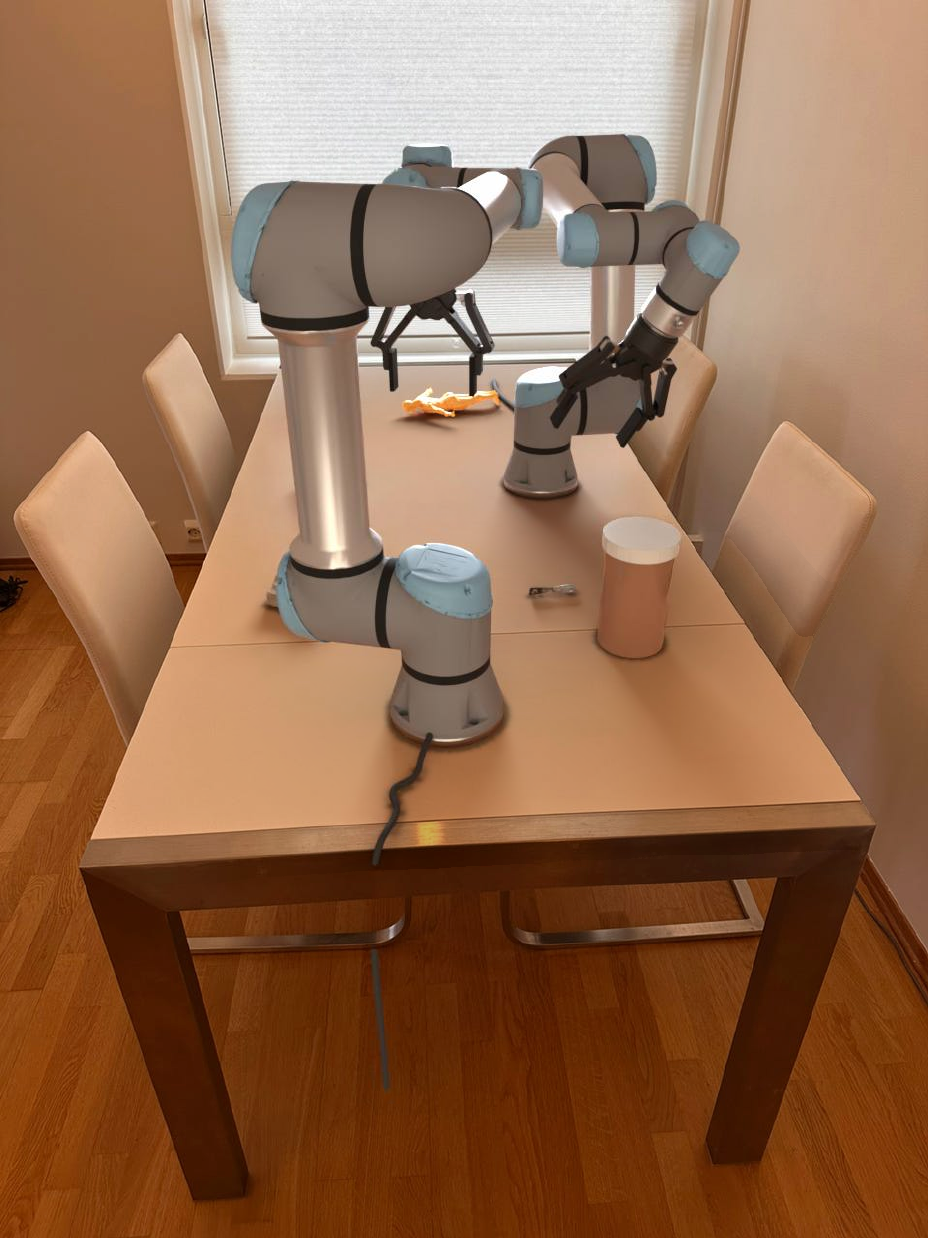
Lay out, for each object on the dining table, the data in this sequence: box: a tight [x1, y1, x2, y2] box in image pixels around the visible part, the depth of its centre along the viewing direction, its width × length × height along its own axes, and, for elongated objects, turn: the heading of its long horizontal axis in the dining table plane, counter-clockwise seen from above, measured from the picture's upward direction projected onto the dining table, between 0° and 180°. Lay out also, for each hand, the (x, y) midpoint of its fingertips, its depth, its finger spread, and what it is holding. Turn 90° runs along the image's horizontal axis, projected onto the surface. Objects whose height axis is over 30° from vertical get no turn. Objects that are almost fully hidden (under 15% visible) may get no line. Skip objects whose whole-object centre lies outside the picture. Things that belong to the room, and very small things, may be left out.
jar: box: [596, 550, 675, 659], centre depth 131 cm, size 10×10×18 cm
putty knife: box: [528, 583, 577, 596], centre depth 147 cm, size 1×8×2 cm, turn 103°
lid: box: [601, 516, 682, 564], centre depth 127 cm, size 11×11×2 cm
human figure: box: [402, 385, 500, 418], centre depth 225 cm, size 20×20×4 cm
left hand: (433, 391), depth 149 cm, fingers open, 13 cm apart
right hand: (587, 433), depth 149 cm, fingers open, 13 cm apart
